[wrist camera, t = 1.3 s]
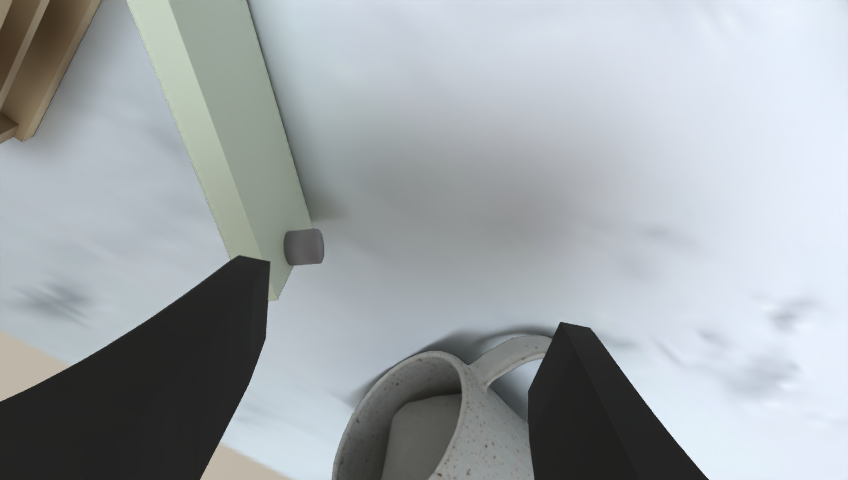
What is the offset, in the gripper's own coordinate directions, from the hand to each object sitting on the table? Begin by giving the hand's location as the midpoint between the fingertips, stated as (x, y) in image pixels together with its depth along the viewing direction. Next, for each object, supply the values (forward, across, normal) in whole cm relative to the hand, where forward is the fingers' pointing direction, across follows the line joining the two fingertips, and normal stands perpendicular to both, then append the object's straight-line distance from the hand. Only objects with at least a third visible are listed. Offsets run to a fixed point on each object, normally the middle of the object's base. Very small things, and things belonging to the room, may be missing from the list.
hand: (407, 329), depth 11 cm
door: (+10, +6, 0) cm, 11 cm away
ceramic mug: (+10, -5, +12) cm, 16 cm away
